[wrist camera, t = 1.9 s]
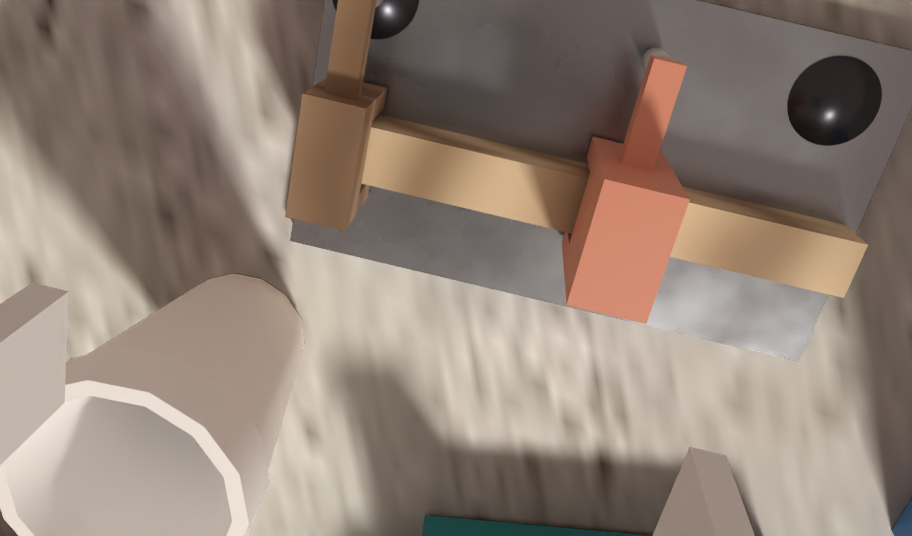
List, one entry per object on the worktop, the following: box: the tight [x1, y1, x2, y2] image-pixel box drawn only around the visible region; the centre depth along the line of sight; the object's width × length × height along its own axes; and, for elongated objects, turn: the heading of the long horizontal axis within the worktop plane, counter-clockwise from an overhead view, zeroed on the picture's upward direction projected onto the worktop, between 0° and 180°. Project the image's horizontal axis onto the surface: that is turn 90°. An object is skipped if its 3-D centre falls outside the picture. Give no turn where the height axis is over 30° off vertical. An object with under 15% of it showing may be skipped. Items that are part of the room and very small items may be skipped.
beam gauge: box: [285, 0, 868, 298], centre depth 31 cm, size 23×9×5 cm, turn 78°
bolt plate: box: [290, 0, 912, 362], centre depth 34 cm, size 24×14×1 cm, turn 78°
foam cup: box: [0, 273, 305, 536], centre depth 34 cm, size 10×9×13 cm
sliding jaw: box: [562, 47, 690, 324], centre depth 30 cm, size 3×9×6 cm, turn 168°
